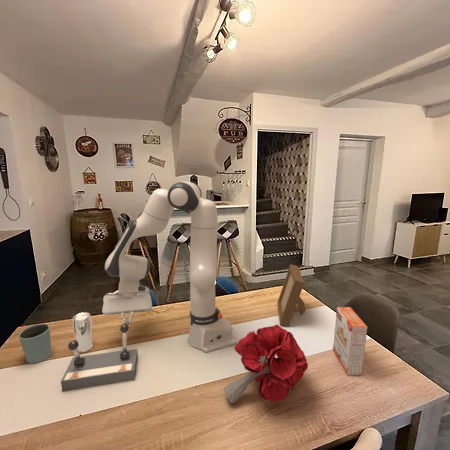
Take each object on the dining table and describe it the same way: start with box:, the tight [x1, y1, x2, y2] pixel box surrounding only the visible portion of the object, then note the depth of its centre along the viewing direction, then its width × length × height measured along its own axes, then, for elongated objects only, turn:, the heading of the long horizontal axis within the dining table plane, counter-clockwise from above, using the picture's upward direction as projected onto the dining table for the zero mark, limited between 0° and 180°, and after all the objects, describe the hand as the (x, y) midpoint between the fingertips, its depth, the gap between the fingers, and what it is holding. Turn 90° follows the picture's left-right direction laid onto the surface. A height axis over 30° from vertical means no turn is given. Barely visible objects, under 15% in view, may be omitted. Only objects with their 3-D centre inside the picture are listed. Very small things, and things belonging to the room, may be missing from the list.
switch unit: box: [60, 348, 139, 392], centre depth 97 cm, size 24×12×4 cm, turn 103°
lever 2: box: [119, 323, 130, 359], centre depth 100 cm, size 3×3×13 cm
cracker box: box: [332, 306, 369, 376], centre depth 101 cm, size 14×6×21 cm, turn 178°
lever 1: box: [67, 339, 85, 366], centre depth 93 cm, size 3×3×13 cm
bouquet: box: [223, 323, 309, 405], centre depth 88 cm, size 22×24×30 cm
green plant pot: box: [18, 323, 53, 365], centre depth 105 cm, size 10×10×12 cm
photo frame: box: [277, 263, 306, 328], centre depth 134 cm, size 15×22×25 cm
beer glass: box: [72, 311, 94, 353], centre depth 110 cm, size 7×7×15 cm
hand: (127, 323), depth 108 cm, fingers closed
